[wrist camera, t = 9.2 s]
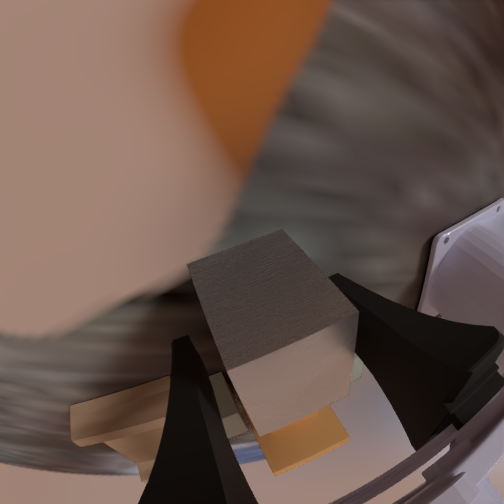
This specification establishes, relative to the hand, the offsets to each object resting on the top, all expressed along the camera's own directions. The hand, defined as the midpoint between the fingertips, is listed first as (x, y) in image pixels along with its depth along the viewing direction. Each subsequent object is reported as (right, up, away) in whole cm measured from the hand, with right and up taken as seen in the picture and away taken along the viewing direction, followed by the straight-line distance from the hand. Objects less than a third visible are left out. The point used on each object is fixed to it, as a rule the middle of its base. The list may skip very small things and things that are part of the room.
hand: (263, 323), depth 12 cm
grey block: (-1, +1, +1) cm, 2 cm away
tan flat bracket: (-6, -7, +4) cm, 11 cm away
